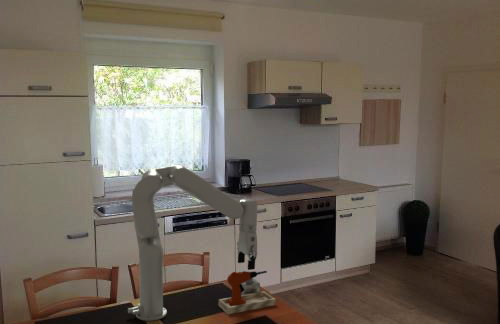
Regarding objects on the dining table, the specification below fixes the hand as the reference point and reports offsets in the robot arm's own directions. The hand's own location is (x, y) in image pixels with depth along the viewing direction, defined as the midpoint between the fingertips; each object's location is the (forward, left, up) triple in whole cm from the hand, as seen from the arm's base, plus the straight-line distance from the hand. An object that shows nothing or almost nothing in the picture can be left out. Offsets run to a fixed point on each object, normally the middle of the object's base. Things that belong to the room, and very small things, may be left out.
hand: (246, 265), depth 200 cm
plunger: (+7, +11, -18) cm, 22 cm away
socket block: (+7, +11, -18) cm, 22 cm away
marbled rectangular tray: (+1, 0, -18) cm, 18 cm away
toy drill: (+1, 0, -17) cm, 17 cm away
